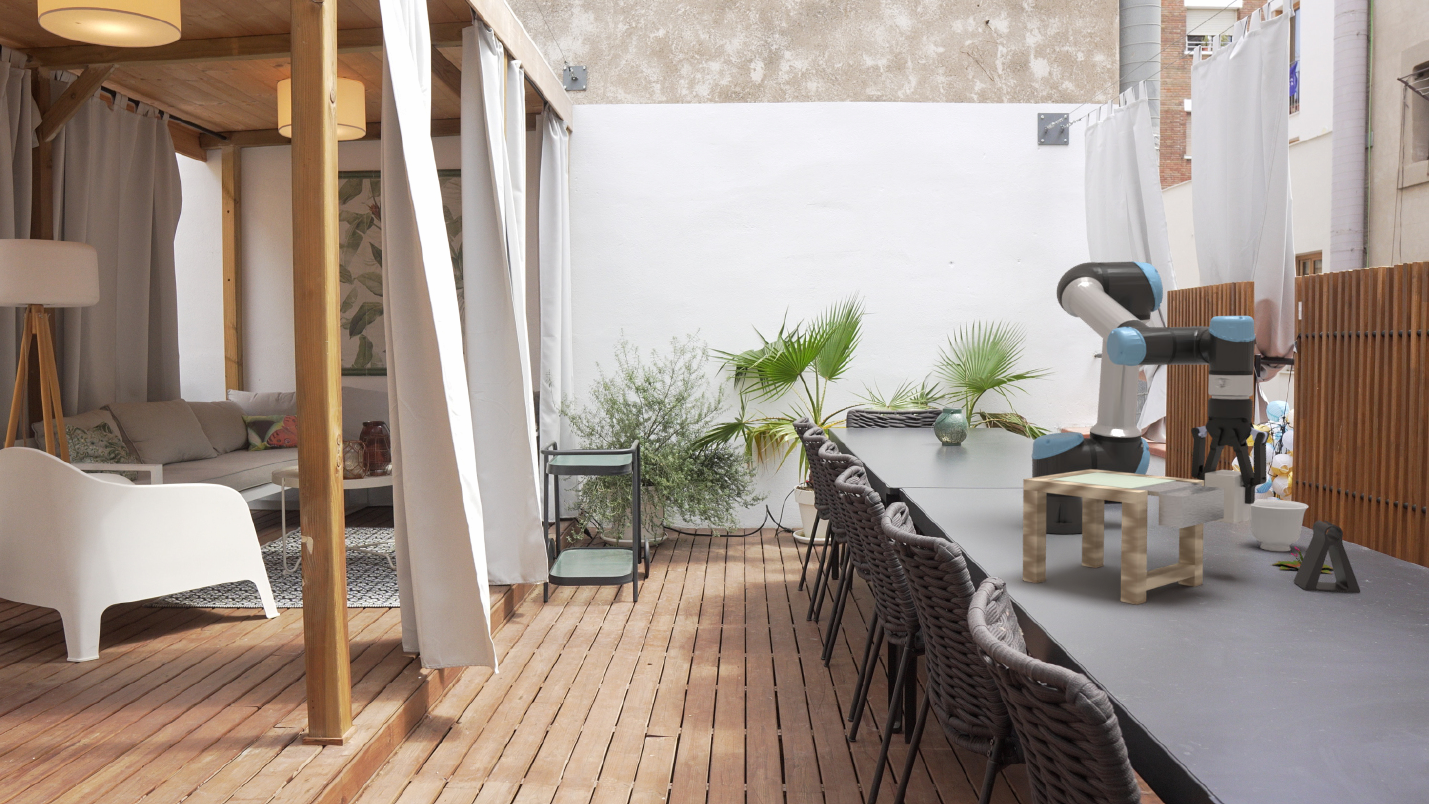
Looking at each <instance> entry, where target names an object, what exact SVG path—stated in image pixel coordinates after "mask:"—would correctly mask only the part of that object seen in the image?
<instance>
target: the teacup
mask: <svg viewBox="0 0 1429 804" xmlns="http://www.w3.org/2000/svg"><path fill="white" fill-rule="evenodd" d="M1308 508H1309V505H1308V504H1306V503H1303V502H1299V501H1293V500H1283V499H1265V498H1264V499H1262V498H1258V499H1255V501H1254V503H1253V504H1251V519H1250V520H1249V521H1250V529H1251V533H1252V535H1253V538H1254V539H1255V540H1257V542H1260V549H1262V550H1265V551H1269V552H1279V553H1280V552H1290V551H1291V545H1293V544H1295V543H1296V542H1297V541H1299V539H1300V537H1301V533H1302V528H1303V527H1302V526H1303V521H1304V516H1305V513H1306V510H1307V509H1308Z"/></svg>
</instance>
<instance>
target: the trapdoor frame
mask: <svg viewBox="0 0 1429 804" xmlns="http://www.w3.org/2000/svg"><path fill="white" fill-rule="evenodd" d="M1096 472H1100V473H1110V474H1120V475H1129V476H1139V477H1149V478H1159V479H1168V480H1176V481H1179V482H1189V483H1198V484H1202V486H1204V480H1199V479H1195V478H1194V479H1193V478H1184V477H1183V478H1182V477H1174V476H1173V477H1172V476H1162V475H1153V474H1145V475H1144V474H1134V473H1124V472H1114V471H1104V470H1095V469H1089V470H1082V471H1075V472H1069V473H1062V474H1055V475H1048V476H1041V477H1035V478H1032V477H1029V478H1024V479H1023V480H1022V482H1023V483H1022V484H1023V486H1022V487H1023V488H1022V489H1023V491H1022V492H1023V495H1022V497H1023V499H1022V500H1023V501H1022V502H1023V504H1022V508H1023V509H1022V511H1023V512H1022V514H1023V515H1022V518H1023V519H1022V523H1023V524H1022V581H1023V580H1024V582H1028V583H1034V584H1039V583H1043V582H1046V581H1047V574H1046V573H1047V533H1046V492H1047V493H1054V494H1062V495H1070V496H1078V497H1082V498H1083V511H1082V533H1081V535H1082V536H1081V538H1082V539H1081V566H1083V567H1087V568H1088V567H1089V568H1094V569H1097V568H1101V567H1104V566H1105V563H1104V562H1105V559H1104V558H1105V501H1109V502H1110V501H1111V502H1117V503H1118V502H1120V503H1121V545H1120V546H1121V551H1120V554H1121V555H1120V556H1121V557H1120V559H1121V560H1120V561H1121V562H1120V602H1123V603H1127V604H1132V605H1136V606H1137V605H1142V604H1144V603H1147V591H1150V590H1152V589H1156V588H1159V587H1163V586H1166V585H1169V584H1173V583H1176V582H1178V584H1179V585H1183V586H1189V587H1198V586H1201V585H1203V581H1204V580H1203V577H1204V576H1203V575H1204V574H1203V571H1204V570H1203V569H1204V568H1203V567H1204V565H1203V564H1204V525H1205V523H1202V524H1198V525H1193V526H1189V527H1185V528H1178V529H1179V531H1178V533H1179V534H1178V536H1179V537H1178V539H1179V540H1178V542H1179V543H1178V562H1177V563H1172V564H1169V565H1165V566H1161V567H1158V568H1154V569H1151V570H1148V569H1147V566H1148V561H1147V559H1148V556H1147V555H1148V505H1149V503H1148V501H1149V499H1148V496H1149V495H1148V491H1145V490H1136V489H1127V488H1118V487H1110V486H1101V485H1092V484H1083V483H1075V482H1066V481H1057V480H1050V479H1056V478H1063V477H1069V476H1076V475H1082V474H1089V473H1096Z"/></svg>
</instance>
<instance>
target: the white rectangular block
mask: <svg viewBox="0 0 1429 804" xmlns="http://www.w3.org/2000/svg"><path fill="white" fill-rule="evenodd" d="M1242 485H1244V483H1243V479H1242V476H1241V472H1240V470H1229V469H1220V470H1219V469H1218V470H1216V471H1214V472H1209V473H1205V486H1206V487H1216V488H1224V518H1223V519H1219V520H1215V521H1214V522H1217V523H1224V524H1230V525H1235V524H1239V523H1241V521H1239V487H1241V486H1242ZM1250 519H1251V504H1250V512H1249V520H1248V521H1250Z"/></svg>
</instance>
